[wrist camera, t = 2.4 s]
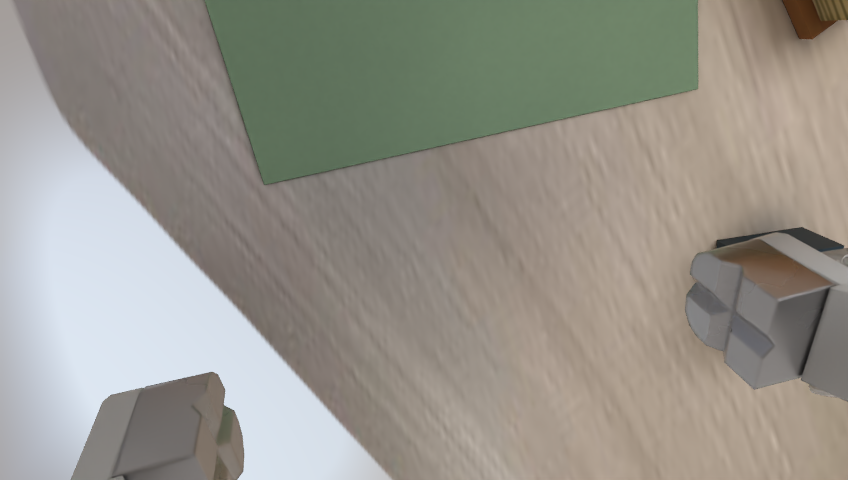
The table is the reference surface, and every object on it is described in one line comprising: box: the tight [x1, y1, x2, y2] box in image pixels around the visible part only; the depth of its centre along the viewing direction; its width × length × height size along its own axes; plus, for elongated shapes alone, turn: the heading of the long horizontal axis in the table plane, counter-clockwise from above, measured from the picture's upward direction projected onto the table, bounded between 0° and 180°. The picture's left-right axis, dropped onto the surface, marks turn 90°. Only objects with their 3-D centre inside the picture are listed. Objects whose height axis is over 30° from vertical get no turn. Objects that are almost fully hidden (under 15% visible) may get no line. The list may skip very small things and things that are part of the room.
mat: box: [205, 0, 698, 185], centre depth 26 cm, size 24×12×1 cm, turn 101°
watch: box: [716, 227, 848, 398], centre depth 29 cm, size 6×8×11 cm
